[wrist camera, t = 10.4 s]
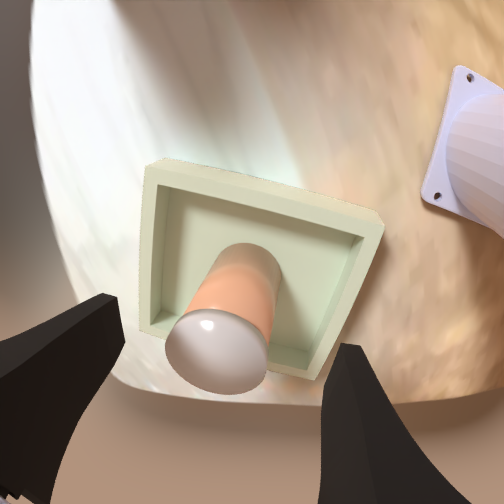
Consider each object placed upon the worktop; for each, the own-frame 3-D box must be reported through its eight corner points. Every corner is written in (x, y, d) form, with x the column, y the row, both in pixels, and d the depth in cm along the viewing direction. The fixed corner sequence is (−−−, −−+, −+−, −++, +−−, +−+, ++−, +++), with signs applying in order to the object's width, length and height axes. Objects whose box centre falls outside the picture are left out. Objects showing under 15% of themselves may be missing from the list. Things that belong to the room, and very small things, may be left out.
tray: (375, 210, 16) (385, 226, 14) (315, 355, 21) (314, 380, 19) (165, 157, 17) (145, 166, 15) (153, 310, 22) (139, 330, 20)
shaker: (284, 243, 17) (267, 327, 11) (281, 306, 19) (265, 400, 13) (209, 238, 18) (156, 314, 11) (214, 300, 20) (174, 385, 13)
